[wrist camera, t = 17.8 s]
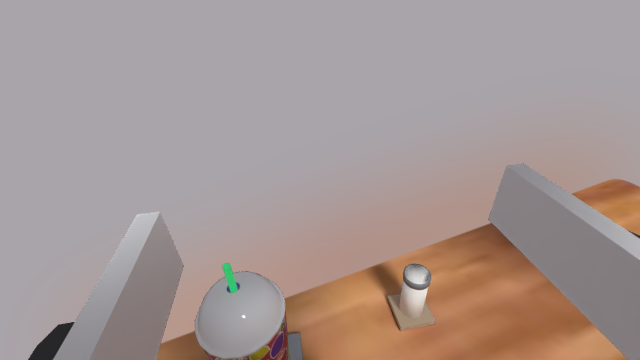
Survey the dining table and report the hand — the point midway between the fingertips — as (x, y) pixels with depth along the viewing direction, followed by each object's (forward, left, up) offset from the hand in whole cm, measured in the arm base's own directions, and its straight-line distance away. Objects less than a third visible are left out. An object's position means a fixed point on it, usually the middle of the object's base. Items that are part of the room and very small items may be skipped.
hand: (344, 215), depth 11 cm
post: (-13, -15, -32) cm, 38 cm away
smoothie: (+8, -9, -32) cm, 34 cm away
